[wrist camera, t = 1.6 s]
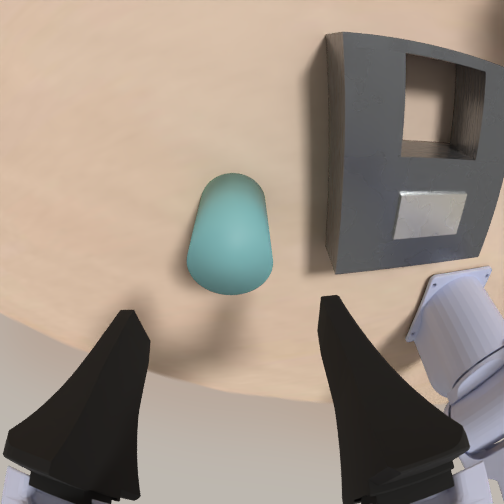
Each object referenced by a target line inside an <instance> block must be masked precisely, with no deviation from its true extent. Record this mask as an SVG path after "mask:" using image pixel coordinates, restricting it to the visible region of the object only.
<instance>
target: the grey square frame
mask: <svg viewBox="0 0 504 504" xmlns="http://www.w3.org/2000/svg"><path fill="white" fill-rule="evenodd" d="M326 46H327V64H328V90H329V182H328V209H327V229H326V245H325V246H326V249H327V252H328V255H329V257H330V260H331V263H332V266H333V269H334V272H335V274H344V273H354V272H363V271H372V270H380V269H389V268H397V267H405V266H414V265H421V264H429V263H437V262H444V261H452V260H459V259H466V258H473V257H478V256H479V254H480V251H481V248H482V246H483V243H484V240H485V238H486V235H487V232H488V229H489V226H490V223H491V220H492V217H493V214H494V210H495V207H496V204H497V200H498V197H499V193H500V190H501V186H502V182H503V178H504V67H502V66H500V65H497V64H494V63H492V62H489V61H486V60H483V59H480V58H477V57H474V56H471V55H467V54H464V53H461V52H457V51H454V50H450V49H446V48H442V47H438V46H434V45H430V44H425V43H420V42H415V41H410V40H405V39H399V38H393V37H386V36H379V35H371V34H362V33H351V32H338V33H332V34H326ZM406 54H410V55H416V56H421V57H426V58H431V59H436V60H440V61H445V62H449V63H453V64H456V88H455V103H454V114H453V124H452V132H451V140H450V143H441V142H427V141H409V140H402V137H403V125H404V109H405V84H406Z"/></svg>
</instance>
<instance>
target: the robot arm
mask: <svg viewBox="0 0 504 504" xmlns="http://www.w3.org/2000/svg"><path fill="white" fill-rule="evenodd" d="M491 271H492V268H491V267H490V266H486V267H480V268H474V269H468V270H462V271H456V272H449V273H443V274H436V275H433V276H432V277H431V278H430V280H429V283H428V285H427V288H426V291H425V293H424V296H423V298H422V301H421V303H420V306H419V308H418V311H417V313H416V315H415V318H414V320H413V322H412V325H411V327H410V329H409V332H408V334H407V336H406V338H405V339H406V341H407V342H412V341H414V342H415V345H416V347H417V350H418V352H419V355H420V357H421V360H422V363H423V365H424V368H425V370H426V373H427V376H428V378H429V381H430V383H431V385H432V387H433V388H434V389H435V391H436V392H438V393H439V394H440V395H442V396H444V397H447V398H448V400H449V402H448V404H447V405H446V407H445V409H444V413H443V412H441V411H440V410H439V409H437V408H436V407H435V406H434V405H432V404H431V403H430V402H428V401H427V400H426V399H425V398H424V397H423V396H421V395H420V394H419V393H418V392H417V391H416V390H414V389H413V388H412V387H411V386H410V385H409V384H408V383H407V382H406V381H405V380H404V379H403V378H402V377H401V376H400V375H399V374H398V373H397V372H396V371H395V370H394V369H393V368H392V367H391V366H390V365H389V364H388V362H387V361H386V360H385V359H384V358H383V357H382V356H381V354H380V353H379V352H378V351H377V350H376V348H375V347H374V346H373V345H372V343H371V342H370V341H369V339H368V338H367V337H366V335H365V334H364V333H363V331H362V330H361V329H360V327H359V326H358V325H357V323H356V322H355V320H354V319H353V317H352V316H351V314H350V313H349V311H348V310H347V308H346V307H345V305H344V304H343V302H342V300H341V299H340V297H339V296H338V295H332V296H323V297H321V302H320V312H319V321H318V330H317V331H318V338H319V344H320V351H321V356H322V360H323V364H324V368H325V372H326V376H327V379H328V383H329V387H330V391H331V395H332V399H333V403H334V407H335V414H336V420H337V429H338V438H339V448H340V460H341V477H342V500H343V504H357V503H361V504H493V501H492V496H491V491H490V486H489V482H488V479H493V480H496V481H498V484H499V487H500V491H501V494H502V497H503V500H504V440H502V441H501V442H498V443H496V442H497V441H499V440H501V439H502V438H504V319H503V317H502V316H501V314H500V312H499V311H498V309H497V307H496V306H495V304H494V303H493V301H492V300H491V298H490V296H489V295H488V293H487V292H486V290H485V289H484V286H485V284H486V282H487V280H488V278H489V276H490V274H491ZM149 353H150V339H149V337H148V336H147V334H146V332H145V330H144V328H143V326H142V325H141V323H140V321H139V319H138V317H137V315H136V313H135V311H134V310H121V311H120V312H119V313H118V314H117V316H116V317H115V318H114V320H113V321H112V323H111V324H110V325H109V327H108V328H107V330H106V331H105V332H104V334H103V335H102V337H101V338H100V339H99V341H98V342H97V343H96V345H95V346H94V348H93V349H92V350H91V352H90V353H89V354H88V356H87V357H86V358H85V360H84V361H83V362H82V363H81V365H80V366H79V367H78V369H77V370H76V371H75V372H74V373H73V375H72V376H71V377H70V378H69V379H68V380H67V381H66V383H65V384H64V385H63V386H62V387H61V388H60V389H59V390H58V391H57V392H56V393H55V394H54V395H53V396H52V397H51V398H50V399H49V400H48V401H47V402H46V403H45V404H44V405H42V406H41V407H40V408H39V409H38V410H37V411H35V412H34V413H33V414H32V415H30V416H29V417H28V418H27V419H25V420H24V421H22V422H21V423H19V424H18V425H16V426H15V427H14V428H12V429H11V430H9V433H8V436H7V440H6V444H5V448H4V452H3V455H4V457H6V458H7V459H9V460H11V461H12V462H14V463H16V464H18V465H20V466H22V467H24V468H26V469H28V470H30V471H31V474H30V475H28V474H25V473H23V472H21V471H19V470H17V469H15V468H13V467H11V466H8V467H7V473H6V477H5V483H4V489H3V495H2V503H1V504H111V500H114V501H120V498H125V499H129V500H137V499H138V498H139V497H140V496H141V495H140V489H139V479H138V467H137V428H138V414H139V408H140V403H141V398H142V393H143V387H144V383H145V378H146V373H147V368H148V363H149ZM494 443H496V444H494ZM457 457H459V459H460V460H461V462H462V464H463V466H464V468H465V469H464V470H462V471H460V472H458V473H456V474H454V475H452V473H451V469H453V468H454V465H453V460H454V459H455V458H457Z"/></svg>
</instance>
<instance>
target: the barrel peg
mask: <svg viewBox="0 0 504 504" xmlns="http://www.w3.org/2000/svg"><path fill="white" fill-rule="evenodd" d="M187 267H188V270H189V272H190V274H191V276H192V277H193V279H194V280H195V281H196V282H197V283H198V284H199V285H201V286H202V287H204V288H205V289H207V290H209V291H212V292H215V293H218V294H224V295H238V294H243V293H247V292H250V291H252V290H254V289H256V288H258V287H259V286H261V285H262V284H263V283H264V282H265V281H266V280H267V278H268V277H269V275H270V274H271V271H272V267H273V258H272V250H271V242H270V234H269V226H268V218H267V211H266V203H265V196H264V193H263V191H262V189H261V187H260V186H259V185H258V183H257V182H255V181H254V180H253V179H251V178H250V177H248V176H245V175H242V174H237V173H229V174H224V175H220V176H218V177H216V178H214V179H213V180H212V181H210V182H209V183H208V184H207V186H206V187H205V189H204V191H203V193H202V196H201V200H200V204H199V208H198V212H197V216H196V220H195V224H194V229H193V233H192V237H191V241H190V246H189V250H188V255H187Z"/></svg>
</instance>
